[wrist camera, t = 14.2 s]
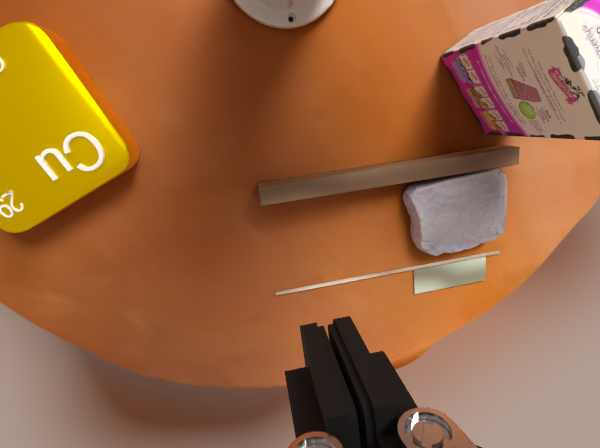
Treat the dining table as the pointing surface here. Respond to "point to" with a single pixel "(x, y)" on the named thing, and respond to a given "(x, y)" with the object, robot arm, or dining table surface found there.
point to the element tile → (52, 129)
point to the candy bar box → (534, 71)
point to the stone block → (457, 210)
